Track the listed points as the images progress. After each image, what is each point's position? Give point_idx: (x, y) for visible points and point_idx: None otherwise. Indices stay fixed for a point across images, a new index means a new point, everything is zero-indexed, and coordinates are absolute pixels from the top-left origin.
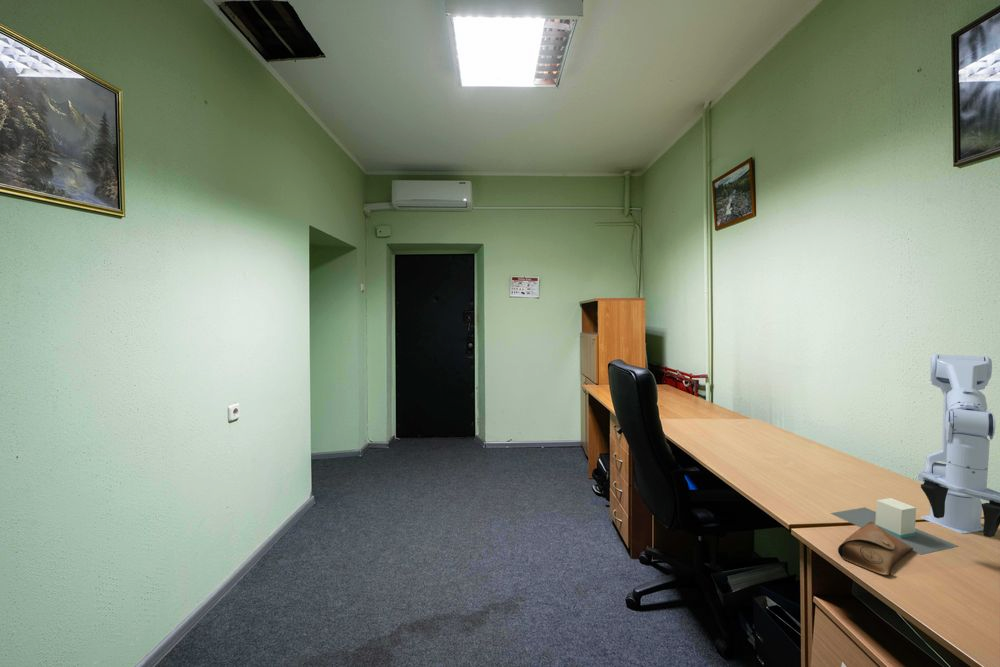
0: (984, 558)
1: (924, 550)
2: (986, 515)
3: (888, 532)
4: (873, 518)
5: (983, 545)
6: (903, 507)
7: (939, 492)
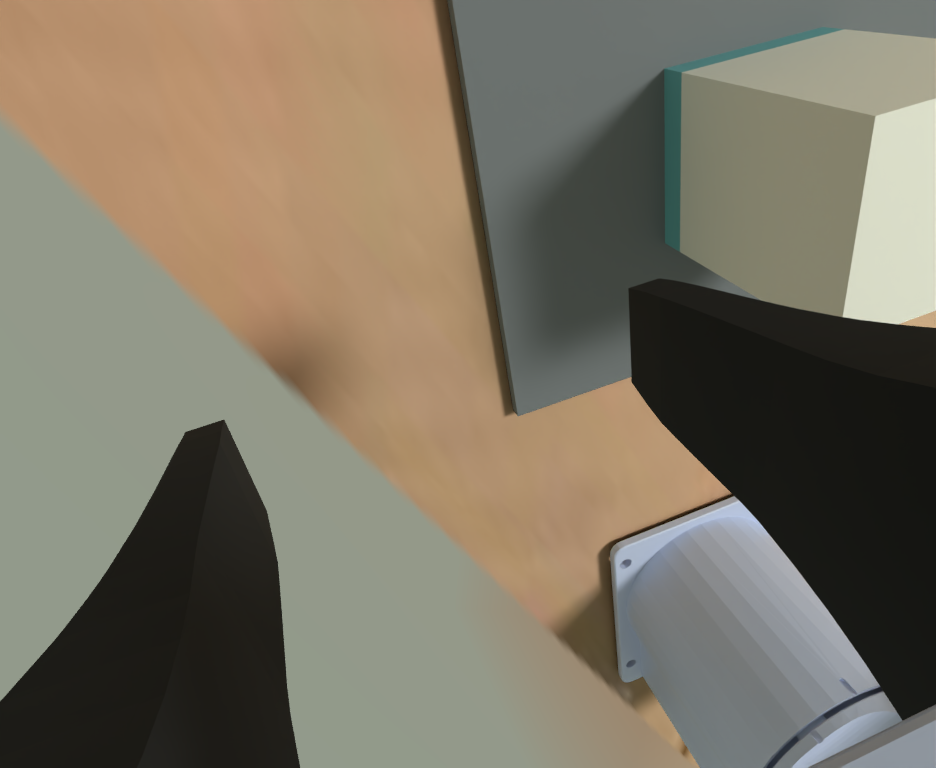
0: (398, 450)
1: (497, 82)
2: (134, 641)
3: (743, 48)
4: None
5: (516, 560)
6: (890, 205)
7: (920, 530)
